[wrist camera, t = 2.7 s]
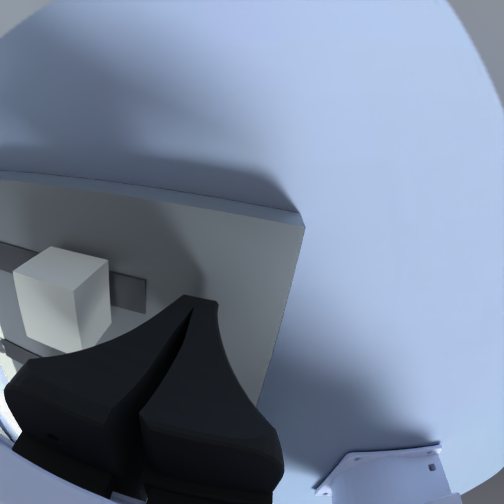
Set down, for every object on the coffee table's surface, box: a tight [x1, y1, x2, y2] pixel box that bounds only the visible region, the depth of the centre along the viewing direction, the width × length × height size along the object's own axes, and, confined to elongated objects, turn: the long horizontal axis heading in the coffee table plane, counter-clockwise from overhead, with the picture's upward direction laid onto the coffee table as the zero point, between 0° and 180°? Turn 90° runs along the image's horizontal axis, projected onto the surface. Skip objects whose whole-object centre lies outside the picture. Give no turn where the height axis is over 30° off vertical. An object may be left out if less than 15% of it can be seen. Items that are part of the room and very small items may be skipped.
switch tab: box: [13, 246, 112, 353], centre depth 10 cm, size 3×3×3 cm
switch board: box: [0, 170, 305, 407], centre depth 15 cm, size 18×22×2 cm
